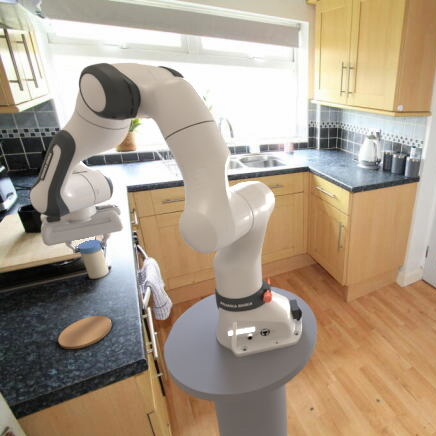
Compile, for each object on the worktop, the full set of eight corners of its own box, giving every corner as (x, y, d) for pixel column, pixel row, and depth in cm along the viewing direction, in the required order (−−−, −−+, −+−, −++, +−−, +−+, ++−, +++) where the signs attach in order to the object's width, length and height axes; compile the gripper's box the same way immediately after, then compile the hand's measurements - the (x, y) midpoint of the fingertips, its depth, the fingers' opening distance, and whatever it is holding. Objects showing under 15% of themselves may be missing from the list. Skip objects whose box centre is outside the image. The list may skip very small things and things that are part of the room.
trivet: (119, 316, 87) (118, 314, 87) (97, 347, 77) (97, 345, 77) (76, 319, 86) (75, 316, 86) (48, 350, 76) (47, 348, 76)
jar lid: (86, 244, 104) (84, 240, 104) (105, 244, 105) (104, 239, 104) (74, 254, 99) (73, 249, 98) (95, 253, 100) (94, 248, 99)
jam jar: (112, 268, 109) (103, 241, 104) (103, 278, 104) (94, 250, 99) (94, 269, 108) (85, 242, 104) (85, 279, 103) (75, 250, 99)
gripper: (117, 199, 105) (126, 237, 110) (35, 212, 93) (50, 253, 99) (119, 205, 100) (129, 244, 105) (33, 220, 89) (49, 262, 94)
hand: (90, 249), depth 102 cm, fingers closed on jar lid, 6 cm apart
